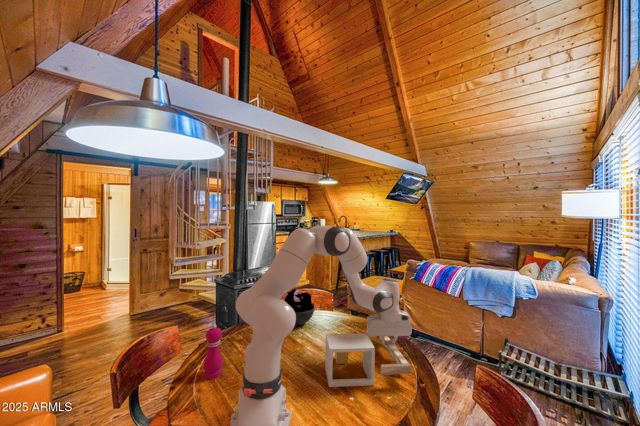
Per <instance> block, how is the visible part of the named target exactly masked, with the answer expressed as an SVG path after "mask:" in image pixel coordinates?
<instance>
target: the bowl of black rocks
mask: <svg viewBox="0 0 640 426" xmlns="http://www.w3.org/2000/svg"><path fill="white" fill-rule="evenodd" d="M295 292H297V289H296V288H292V289H291V290H289V291H287V295H286V296H284V297H285V298H284V301H285V302H286V303H287V304H289V305H290V306H291V307H292V308H293V310H294V311H295V315H296V322H295V325H294V326H301V325H304V324H306V323H307V322H309V321H310V320H311V318H312V317H313V316H314V312H315V305H314V304H313V302H312V294H310V293H308V292H301V293H299V292H298V293H297V294H295ZM295 297H296V298H297V299H299V300H298V301H296V300H295Z"/></svg>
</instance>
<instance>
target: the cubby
mask: <svg viewBox="0 0 640 426" xmlns="http://www.w3.org/2000/svg"><path fill="white" fill-rule="evenodd" d="M335 352H348V353H353V352H355V353H356V352H357V353H359V352H362V368H363V370H364V373H365V375H366V378H344V379H343V378H341V379H340V378H339V379H333V371H334V368H333V367H334V366H333V364H334V361H333V360H334V355H333V354H334V353H335ZM324 353H325V354H324V355H325V356H324V357H325V360H324V361H325V362H324V366H325V367H324V368H325V376H326V379H327V383H328V387H329V388H340V387H360V386H361V387H362V386H363V387H364V386H366V387H367V386H375V362H376V361H375V360H376V359H375V358H376V357H375V356H376V349H375V346H374V344H373V342H372V341H371V338H370V336H369V335H368V334H367V332H366V333H326V334H325V352H324Z"/></svg>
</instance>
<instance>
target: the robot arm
mask: <svg viewBox="0 0 640 426" xmlns="http://www.w3.org/2000/svg"><path fill="white" fill-rule="evenodd" d="M314 254H317V255H319V256H327V257H328V256H329V257H330V256H331V257H337V258H338V260H339V262H340V265H341V269H342V270H341V271H342V273H343V275H344V278H345V280H346V283H347V284H348V287H349V290H350V291H349V292H350V296H351V299H352V302H353V304H355V305H356V306H360V307H363V308H366V309H368V310H370V311H372V312H375V313H379V314H369V315H368V316H367V317H366V334H367V336H368V337H369V338H370V337H376V336H380V337H381V339H382V340H383V342H382V345H383V346H384V347H385V345H387V341H386V340H384V339H383V338H385V336H388V337H393V338H392V339H390V340H391V341H392V342H393V344H394V345H395V346H396V341H397V340H398V339H399V337H402V336H403V337H404V336H407V337H408V336H411V335H412V332H413V330H412V328H413V327H412V323H411V321H410V320H411V316H410V315H409V314H408V313H407V312H406V311H404V310H402V309H400V304H399V303H400V301H401V295H400V294H401V293H400V285H399V282H398V281H397V280H394V279H391V278H382V279H381V280H380V283H379V284H378V285H377V286H375V287H374V286H370V285H368V284H366V283H364V282H363V280H362V279H361V276H360V274H359V273H360V272H361V271H363V270H364V269H365V267H366V266H367V263H368V256H367V255H368V254H367V253H366V249H365V248H364V247H363V244H362V242H361V241H360V239H359V238H358V236H357V235H356V234H355V232H353V230H352V229H351V228H348V227H340V226H330V225H317V226H315V225H313V226H310V227H307V228H302V227H298V228H295V229H294V230H293V231H292V232H291V233H290V234H289V235H288V237H287V238H286V239H285V241H284V242H283V244H282V245H281V247H280V248H279V250H278V252H277V253H276V255H275V257H274V259H273V260H272V262H271V263H270V265H269V267H268V269H266V271H265V272H264V273H263V274H262V276H261V277H260V278H259V279H258V280H257V281H256V282H255V283H254V284H253V285H252V286H251V287H249V288H247V289H246V290H244V291H242V292H241V293H240V294H239V295H238V297H237V299H236V301H235V309H236V312H237V314H238V315H239V317H240V319H241V320H242V321H243V322H245V323H247V324H248V325H249V326H250V327H251V328H252V333H253V336H252V339H251V342H250V343H249V344H248V345H247V346H246V348H245V351H244V372H243V375H242V381H241V382H242V387H241V388H240V389H239V390H238V407H237V408H236V409H235V410H234V411H235V412H233V413H232V414H231V415H230V425H229V426H289V425H290V423H291V419H292V416H293V415H292V411H291V410H290V409H288V408H286V405H287V399H286V397H287V396H286V395H287V394H286V393H287V391H286V387H285V386H283V384H282V378H283V377H282V376H283V375H282V369H281V356H282V353H281V352H282V346H283V342H284V339H285V338H286V337H288V336H289V335H290V334H291V333H292V332H293V329H294V328H295V326H296V325H295V322H296V315H295V311H294V310H293V308H292V307H291V306H290V305H289V304H287V303H286V302H285V299H281V298H282V297H283V295H285V294H287V293H288V292H289V291H291V290H293V289H295V288H296V286H297V285H298V284H299V282H300V281H301V278H302V277H303V275H304V273H305V271H306V269H307V267H308V265H309V263H310V260H311V258H312V257H313V256H314ZM381 339H380V340H381Z"/></svg>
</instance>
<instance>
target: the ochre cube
mask: <svg viewBox="0 0 640 426" xmlns="http://www.w3.org/2000/svg"><path fill="white" fill-rule="evenodd" d="M334 359H335V362H336V363H335V364H336V365H339V364H341V365H342V364H349V352H334Z"/></svg>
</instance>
